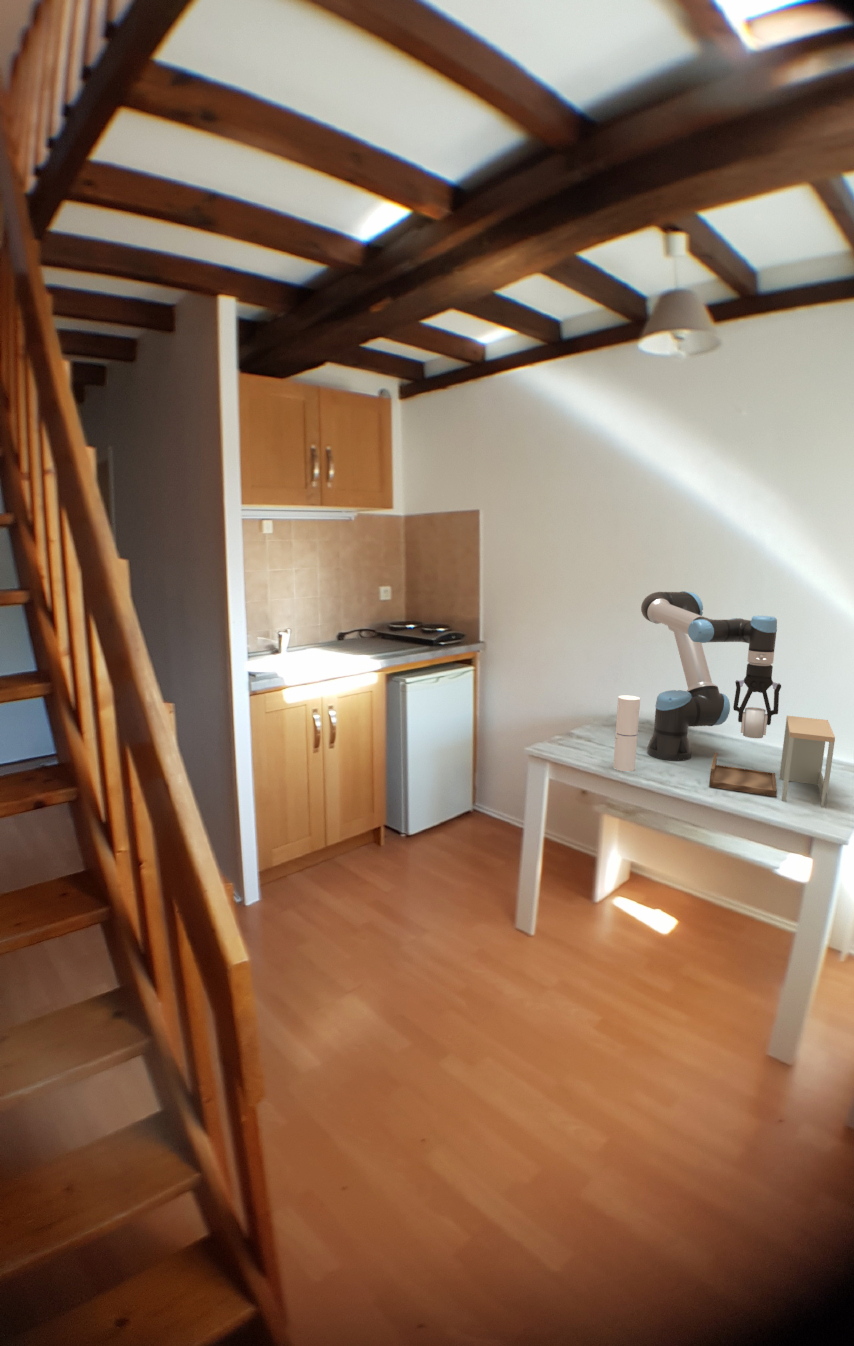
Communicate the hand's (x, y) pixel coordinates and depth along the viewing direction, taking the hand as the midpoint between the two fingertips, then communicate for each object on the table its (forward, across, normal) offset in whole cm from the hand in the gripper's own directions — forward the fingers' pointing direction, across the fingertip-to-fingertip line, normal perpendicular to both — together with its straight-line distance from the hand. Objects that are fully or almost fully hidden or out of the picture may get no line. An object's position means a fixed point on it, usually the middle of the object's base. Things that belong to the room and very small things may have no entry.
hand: (753, 732), depth 222 cm
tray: (+15, -2, -8) cm, 17 cm away
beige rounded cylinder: (+1, 0, 0) cm, 1 cm away
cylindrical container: (+15, -39, -9) cm, 43 cm away
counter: (+15, +15, -8) cm, 23 cm away
